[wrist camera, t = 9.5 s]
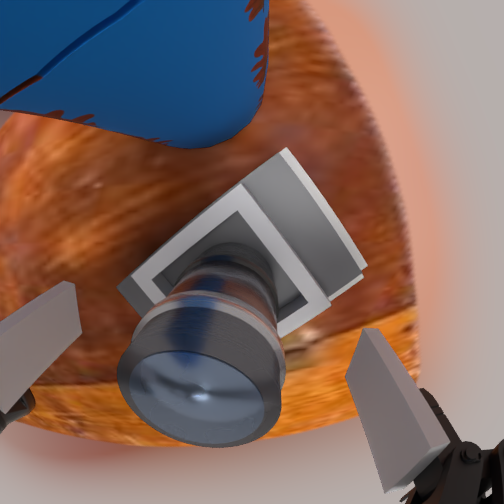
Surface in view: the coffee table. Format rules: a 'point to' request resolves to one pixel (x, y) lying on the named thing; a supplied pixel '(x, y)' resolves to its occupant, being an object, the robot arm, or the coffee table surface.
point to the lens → (210, 353)
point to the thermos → (137, 65)
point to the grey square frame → (263, 243)
